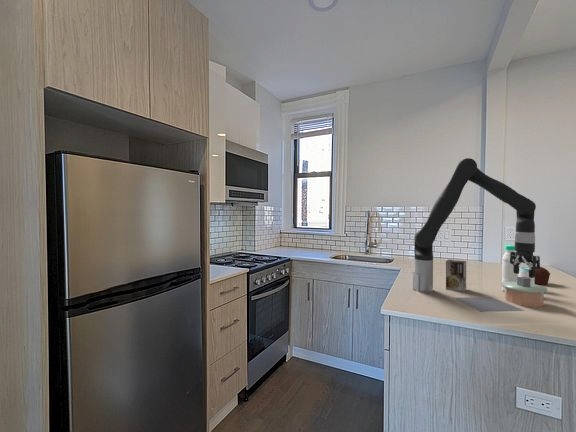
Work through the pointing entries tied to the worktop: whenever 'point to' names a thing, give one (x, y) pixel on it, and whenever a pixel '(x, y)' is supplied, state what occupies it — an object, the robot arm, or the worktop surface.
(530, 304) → the bowl
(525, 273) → the can
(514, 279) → the water bottle
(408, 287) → the worktop surface
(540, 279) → the muffin
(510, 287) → the lid
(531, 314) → the worktop surface
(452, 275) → the coffee box
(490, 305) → the mat
